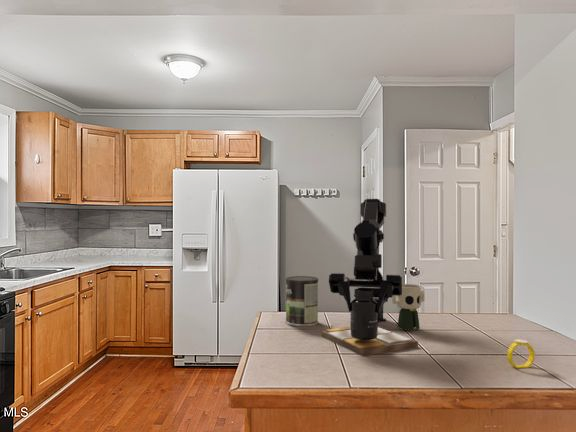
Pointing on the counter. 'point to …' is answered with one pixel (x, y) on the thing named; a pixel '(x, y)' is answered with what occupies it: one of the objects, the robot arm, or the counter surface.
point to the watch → (511, 349)
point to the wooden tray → (369, 341)
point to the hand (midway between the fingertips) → (363, 311)
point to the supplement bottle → (364, 315)
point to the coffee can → (302, 300)
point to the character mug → (409, 306)
